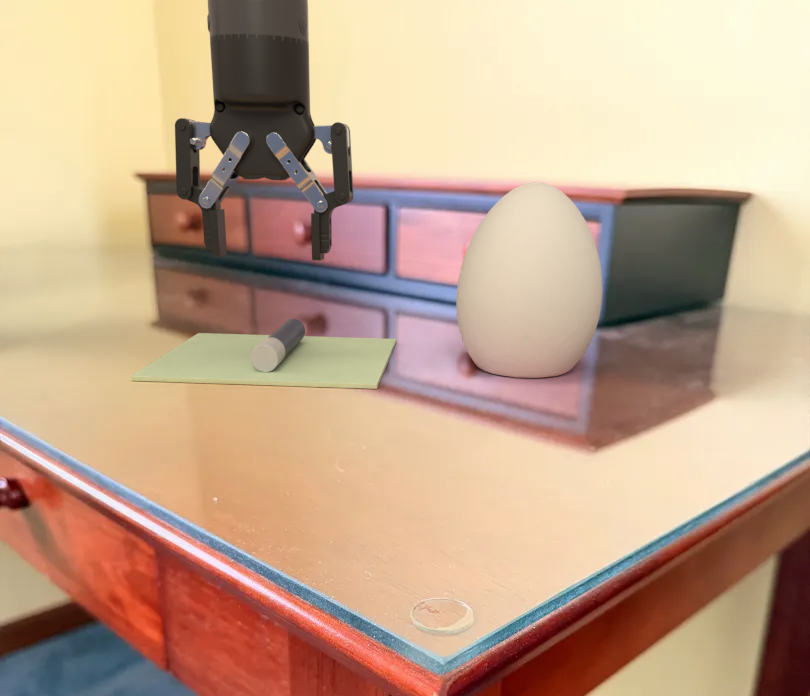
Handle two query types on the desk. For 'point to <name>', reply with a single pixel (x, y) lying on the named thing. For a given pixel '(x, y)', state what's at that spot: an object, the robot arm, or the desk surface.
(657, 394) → the desk surface
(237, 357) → the desk mat
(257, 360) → the marker
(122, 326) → the desk surface
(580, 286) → the decorative egg
